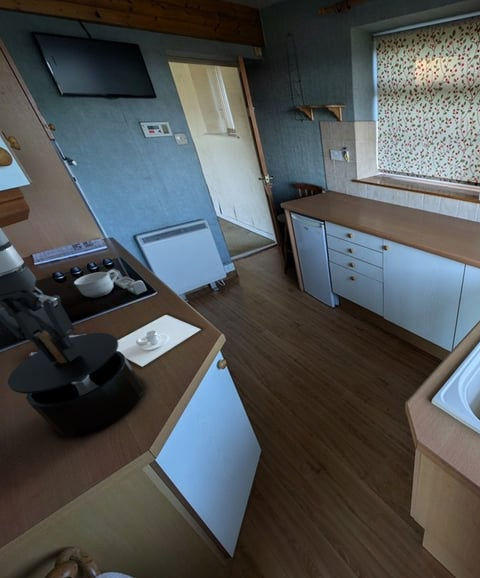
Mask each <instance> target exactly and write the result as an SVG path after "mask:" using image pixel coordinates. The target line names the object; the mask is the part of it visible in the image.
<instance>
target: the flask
mask: <svg viewBox="0 0 480 578" xmlns="http://www.w3.org/2000/svg"><path fill="white" fill-rule="evenodd" d="M71 384H73V385H75V386H76V387H77V390H78V392H79V396H81V395H84V394H86V393H88V392H90V391H91V390H93V389H95V388H97V387H99V386H98V385H96V384H95V383H94V382H92V381H91V380H90V379H89V375H87V376H85V377H83V378H81V379H79V380H77V381H75V382H73V383H71Z"/></svg>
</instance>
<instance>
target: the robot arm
mask: <svg viewBox="0 0 480 578" xmlns="http://www.w3.org/2000/svg"><path fill="white" fill-rule="evenodd" d="M24 263H25V261H24V260H23V258H22V257H21V255H20V254H19V252H18V251H17V250H16V248H15V247H14V245H12V243H11V241H10V239H9V238H8V237H7V235H6V234H5V232H4V230H2V228H1V227H0V322H1V323H2V324H3V325H4V326H5V327H6V328H7V329H8V330H9V331H10V332H11V333H12V334H13V335H14V336H15V337H16V338H17V339H21V340H22V339H27V340H28V341H31V342H32V343H34V345H35V346H36V348H37V349H38V350H39V351H40V350H41V351H42V352H43V353H44V354H45V355H46V357H47V358H48V359H49V360H50V362H55V361H57V359H56V358H55V357H54V356H53V354H52V353H51V352H50V351H49V349H48V348H47V347H46V346H45V344H44V343H43V342H42V341H41V339H40V338H39V337H38V335H39V334H40V333H42V332H44V331H46V332H47V333H48V334H49V335H50V336H51V337H52V338H53V339H52V340H50V341H51V342H52V343H53V345H54V346H55V347H56V348H57V350H58V351H59V352H60V353H61V355H62V356H63V357H64V359H65V360H66V361H67V362H71V361H72V360H73V359H74V358H75V357H77V356H78V355H79V354H80V353H79V351H78V350H77V349H76V347H75V346H74V342H73V341H72V340H71V338H72V337H70V335H71V334H72V333H73V332H74V331H76V328H75V326H74V324H73V323H72V320H71V319H70V318H69V317H70V316H68V313H67V312H66V310H65V309H64V307H63V305H62V300H61V297H60V296H59V295H57V294H54V295H52V296H50V295H46V294H44V292H42V290H41V289H39V288H38V287H37V286H36V282H37V278H36V276H35V275H34V273H33V272H32V270H31V269H30V268H29V266H28V265H27V264H24Z"/></svg>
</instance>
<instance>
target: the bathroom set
mask: <svg viewBox="0 0 480 578" xmlns="http://www.w3.org/2000/svg"><path fill="white" fill-rule="evenodd" d="M111 270H113V271H115V272H117V274H118V276H117V279H116V280H115V281H114V284H115V286H118V287H120V288H122V289H125V290H126V289H127V291H128V292H130V293H132V294H134V295H139V294H141V293H144V292H146V291H148V289H147V287H146V285H145V283H144V282H143V281H142V280H139V279H138V280H134V279H132V278H130V277H129V276H123V275H122V273H121V272H120V270H117V269H115V268H112V269H111ZM109 276H110V279H111V280H112V279H113V277H114V273H110V275H109Z"/></svg>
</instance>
